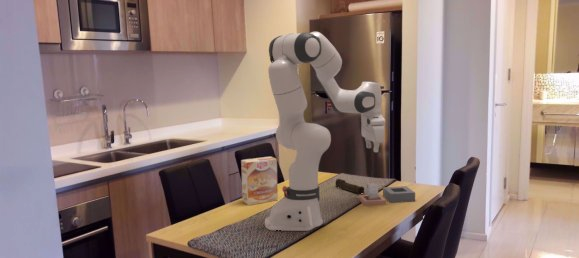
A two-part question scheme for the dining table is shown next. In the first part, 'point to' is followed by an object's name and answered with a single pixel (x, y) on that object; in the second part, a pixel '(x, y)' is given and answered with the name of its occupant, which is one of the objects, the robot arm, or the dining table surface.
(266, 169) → the coffeecake box
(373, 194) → the spigot
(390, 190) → the socket block
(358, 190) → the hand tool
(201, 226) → the dining table surface
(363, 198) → the pink square tray
